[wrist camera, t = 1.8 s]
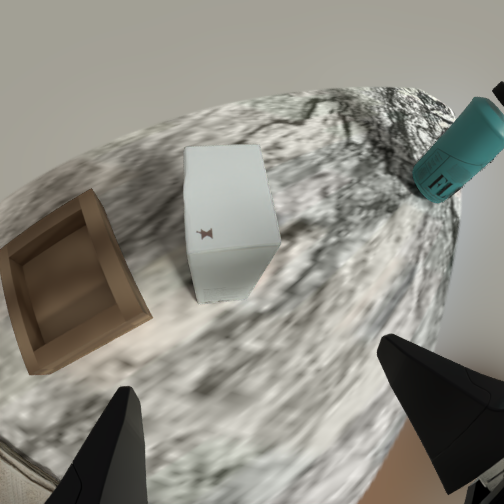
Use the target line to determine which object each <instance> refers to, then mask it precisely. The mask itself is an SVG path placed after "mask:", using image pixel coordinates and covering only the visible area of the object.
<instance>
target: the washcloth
mask: <svg viewBox="0 0 504 504" xmlns="http://www.w3.org/2000/svg"><path fill="white" fill-rule="evenodd" d="M58 484H59V482H57V481H56V480H55V479H54V478H53V477H51V476H50V475H48V474H47V473H45V472H44V471H42V470H41V469H39V468H38V467H36V466H34V465H33V464H31V463H29V462H28V461H26V460H25V459H23V458H22V457H21V456H20V455H18V454H17V453H16V452H14V451H13V450H12V449H10V448H9V447H8V446H7V445H5V444H4V443H3V442H2V441H0V504H44V503H45V502H46V500H47V499H48V498H49V496H50V495H51V494H52V492H53V491H54V490H55V488H56V487H57V485H58Z"/></svg>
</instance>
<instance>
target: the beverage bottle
mask: <svg viewBox="0 0 504 504" xmlns="http://www.w3.org/2000/svg"><path fill="white" fill-rule="evenodd" d="M492 92H493V93H494V94H495V96H496V98H497V99H498V100H499V101H500V103H501V104H502V105H503V106H504V82H502V81H501V82H500V83H499V84H498V85H497V86H496V87H495V88H494V89H493V90H492ZM441 135H442V134H441ZM435 142H436V141H435ZM431 146H432V145H431ZM429 148H430V147H429ZM503 149H504V115H503V113H502V112H501V111H500V110H499V108H498V107H497V106H496V105H495V104H494V103H493V102H491V101H490V100H489V99H487V98H483V97H474V98H473V99H472V101H471V102H470V104H469V105H468V106H467V107H466V109H465V110H464V111H463V112H462V113H461V115H460V116H459V117H458V118H457V119H456V120H455V122H454V123H453V124H452V125H451V126H450V127H449V129H448V130H447V131H446V132H445V133H444V134H443V135H442V136H441V137H440V138H439V139H438V140H437V142H436V143H435V144H433V146H432V147H431V148H430V149H429V150H428V151H426V152H427V153H426V154H425V155H424V154H423V155H424V156H422V158H421V159H420V160H419V159H418V160H419V161H418V162H417V163H416V164H415V166H414V168H413V172H412V175H413V179H414V182H415V184H416V186H417V188H418V189H419V191H420V192H421V193H422V194H423V195H424V196H425V197H426V198H427V199H428V200H430V201H431V202H434V203H441V202H443V201H446V199H447V198H448V197H449V198H450V197H452V195H453V194H455V193H456V192H457V191H459V190H460V188H461V187H462V186H463V185H464V184H466V182H468V181H469V180H470V179H472V177H473V176H475V175H476V174H477V173H478V172H479V171H480V170H481V169H483V168H484V167H485V166H486V165H487V164H488V163H489V162H490V163H491V161H492V160H494V158H495V157H496V155H497V154H498V153H499V152H501V151H502V150H503ZM462 188H463V187H462ZM447 200H448V199H447Z"/></svg>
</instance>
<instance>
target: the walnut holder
mask: <svg viewBox="0 0 504 504" xmlns="http://www.w3.org/2000/svg"><path fill="white" fill-rule="evenodd" d="M0 274H1V280H2V285H3V290H4V295H5V300H6V304H7V308H8V312H9V316H10V320H11V323H12V327H13V330H14V334H15V337H16V340H17V343H18V346H19V349H20V352H21V355H22V358H23V360H24V363H25V366H26V368H27V371H28V373H29V375H46V374H52V373H54V372H55V371H57V370H59V369H61V368H63V367H65V366H67V365H68V364H70V363H72V362H74V361H76V360H78V359H79V358H81V357H83V356H85V355H87V354H89V353H90V352H92V351H94V350H96V349H98V348H100V347H101V346H103V345H105V344H107V343H109V342H111V341H112V340H114V339H116V338H118V337H120V336H122V335H123V334H125V333H127V332H129V331H131V330H132V329H134V328H136V327H138V326H140V325H141V324H143V323H145V322H147V321H149V320H150V319H152V318H153V317H152V315H151V313H150V311H149V309H148V307H147V305H146V303H145V301H144V299H143V297H142V295H141V293H140V291H139V289H138V287H137V285H136V283H135V281H134V279H133V277H132V275H131V272H130V270H129V268H128V266H127V264H126V261H125V259H124V257H123V255H122V252H121V250H120V248H119V245H118V243H117V240H116V238H115V235H114V233H113V231H112V228H111V225H110V223H109V220H108V218H107V215H106V212H105V210H104V207H103V206H102V204H101V202H100V201H99V199H98V198H97V196H96V194H95V193H94V191H93V189H92V188H91V189H89V190H88V191H86V192H84V193H82V194H81V195H79V196H77V197H76V198H74V199H72V200H71V201H69V202H67V203H66V204H64V205H62V206H61V207H59V208H58V209H56V210H55V211H53V212H51V213H50V214H48V215H47V216H45V217H44V218H42V219H41V220H39V221H38V222H36V223H35V224H34V225H32V226H31V227H29V228H28V229H27V230H25V231H24V232H22V233H21V234H20V235H18V236H17V237H16V238H14V239H13V240H12V241H10V242H9V243H8V244H6V245H5V246H4V247H3V248H1V249H0Z"/></svg>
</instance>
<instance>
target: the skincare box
mask: <svg viewBox="0 0 504 504" xmlns="http://www.w3.org/2000/svg"><path fill="white" fill-rule="evenodd" d="M183 163H184V184H183V200H184V224H185V242H186V253H187V260H188V265H189V268H190V272H191V277H192V281H193V285H194V289H195V294H196V298H197V302H198V304H207V303H218V302H227V301H235V300H245V299H247V298H248V296H249V295H250V293H251V292H252V290H253V288H254V287H255V285H256V284H257V282H258V281H259V279H260V277H261V276H262V274H263V272H264V271H265V269H266V268H267V266H268V264H269V263H270V261H271V260H272V258H273V256H274V255H275V253H276V251H277V250H278V248H279V247H280V245H281V237H280V232H279V227H278V222H277V217H276V212H275V208H274V203H273V199H272V194H271V190H270V186H269V182H268V178H267V174H266V170H265V165H264V161H263V157H262V152H261V147H260V145H259V144H243V145H212V146H187V147H185V148H184V154H183Z"/></svg>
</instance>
